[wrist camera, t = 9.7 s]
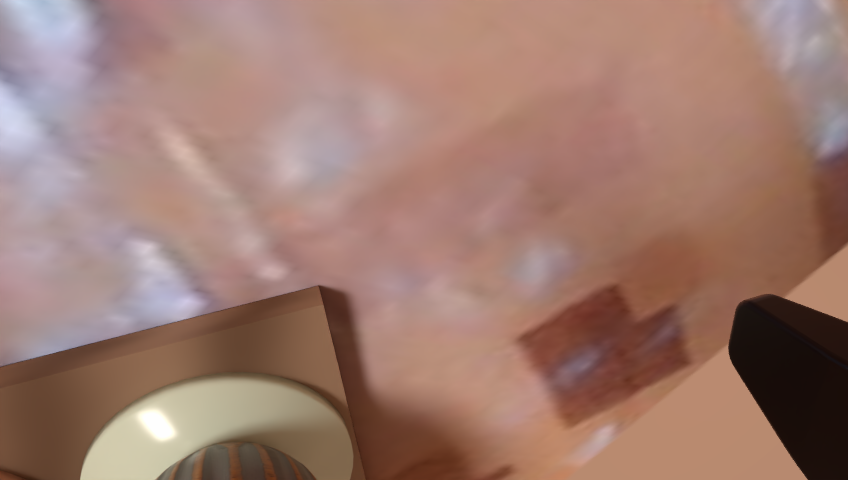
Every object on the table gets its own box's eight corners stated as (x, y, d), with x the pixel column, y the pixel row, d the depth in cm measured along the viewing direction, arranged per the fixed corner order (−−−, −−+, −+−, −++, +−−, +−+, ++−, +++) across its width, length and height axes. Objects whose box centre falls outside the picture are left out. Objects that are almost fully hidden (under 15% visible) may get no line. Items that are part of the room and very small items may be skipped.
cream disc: (325, 340, 22) (328, 353, 22) (367, 506, 27) (370, 519, 27) (33, 420, 21) (30, 435, 20) (135, 580, 26) (134, 595, 25)
